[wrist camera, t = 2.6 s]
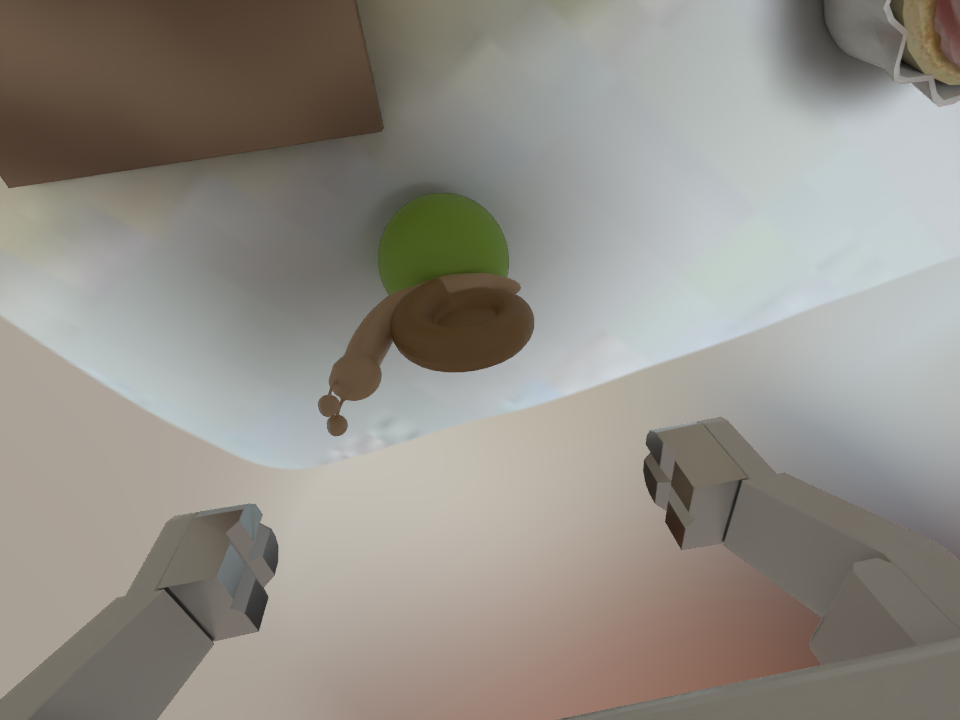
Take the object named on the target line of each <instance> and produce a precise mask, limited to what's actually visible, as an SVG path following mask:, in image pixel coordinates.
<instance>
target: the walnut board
mask: <svg viewBox="0 0 960 720" xmlns="http://www.w3.org/2000/svg"><path fill="white" fill-rule="evenodd" d="M383 128H384V127H383V123H382V118H381V114H380V109H379V104H378V100H377V95H376V91H375V86H374V81H373V77H372V72H371V67H370V63H369V58H368V54H367V49H366V44H365V40H364V35H363V30H362V26H361V21H360V17H359V12H358V7H357V3H356V0H0V176H1V177H2V179H3V180H4V182H5V183H6V185H7V186H8V188H13V187H20V186H26V185H33V184H40V183H46V182H53V181H59V180H66V179H73V178H79V177H86V176H92V175H99V174H105V173H112V172H119V171H125V170H132V169H138V168H145V167H152V166H158V165H165V164H171V163H178V162H185V161H191V160H198V159H204V158H211V157H217V156H224V155H231V154H237V153H244V152H250V151H257V150H264V149H270V148H277V147H283V146H290V145H297V144H303V143H310V142H316V141H323V140H329V139H336V138H343V137H349V136H356V135H362V134H369V133H376V132H382V130H383Z"/></svg>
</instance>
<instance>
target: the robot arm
mask: <svg viewBox="0 0 960 720" xmlns="http://www.w3.org/2000/svg"><path fill="white" fill-rule="evenodd" d="M646 446H647V447H648V449H649V450H650V454H649V455H648V456H647V457H646V458H645V459H644V468H643V472H644V478H645V482H646V486H647V488H648V491H649V494H650V495H651V497H652V499H653V501H654V503H655V504H657V505H658V506H660V507H662V508H663V509H665V510H666V511H667V512H666V519H665V522H666V524H667V526H668V527H669V529H670V531H671V533H672V534H673V536H674V538H675V540H676V542H677V543H678V545H679V547H680V548H681V550H685V549H690V548H697V547H703V546H709V545H714V544H721V543H724V546H725V547H726V548H728V549H729V550H730V551H732V552H733V553H735V554H736V555H737V556H738V557H740V558H741V559H743V560H744V561H745V562H747V563H748V564H750V565H751V566H752V567H754V568H755V569H756V570H758V571H759V572H760V573H762V574H763V575H764V576H766V577H767V578H769V579H770V580H771V581H773V582H774V583H775V584H777V585H778V586H780V587H781V588H782V589H784V590H785V591H786V592H788V593H789V594H790V595H792V596H793V597H794V598H796V599H797V600H799V601H800V602H801V603H803V604H804V605H805V606H807V607H808V608H809V609H811V610H812V611H813V612H815V613H816V614H818V615H819V616H820V617H822V620H821V621H820V623H819V625H818V627H817V628H816V630H815V632H814V634H813V636H812V637H811V641H810V645H809V647H810V648H811V650H812V651H813V652H814V654H815V655H816V657H817V659H818V660H819V661H820V663H821V664H822V665H820V666H815V667H811V668H806V669H801V670H796V671H791V672H786V673H781V674H777V675H772V676H767V677H762V678H757V679H752V680H747V681H742V682H737V683H733V684H728V685H723V686H718V687H713V688H708V689H704V690H698V691H694V692H689V693H684V694H679V695H674V696H669V697H664V698H660V699H655V700H650V701H645V702H640V703H635V704H630V705H625V706H620V707H616V708H611V709H606V710H601V711H596V712H591V713H586V714H581V715H577V716H572V717H567V718H562V719H557V720H960V561H959V560H958V559H957V558H956V557H955V556H953V555H952V554H951V553H950V552H949V551H948V550H946V548H944V547H943V546H942V545H941V544H940V543H937V542H935V541H933V540H931V539H929V538H926V537H924V536H922V535H920V534H918V533H915V532H913V531H911V530H909V529H906V528H905V527H902V526H900V525H898V524H896V523H894V522H891V521H889V520H887V519H885V518H882V517H880V516H878V515H876V514H874V513H872V512H869V511H867V510H865V509H863V508H861V507H859V506H856V505H854V504H852V503H850V502H848V501H845V500H843V499H841V498H839V497H837V496H834V495H832V494H830V493H828V492H826V491H823V490H821V489H819V488H817V487H815V486H813V485H810V484H808V483H806V482H804V481H802V480H799V479H797V478H795V477H793V476H790V475H788V474H786V473H780V474H777V473H776V472H775V471H774V470H773V469H772V468H771V467H770V466H769V465H768V464H767V463H766V461H764V459H763V458H762V457H761V456H760V455H759V454H758V453H757V452H756V451H755V450H754V449H753V447H751V445H750V444H749V443H748V442H747V441H746V440H745V439H744V438H743V437H742V436H741V434H740V433H739V432H738V431H737V430H736V429H735V428H734V427H733V426H732V425H731V424H730V423H729V421H728V420H726V419H724V418H722V417H718V418H713V419H707V420H702V421H697V422H691V423H686V424H681V425H676V426H671V427H666V428H660V429H655V430H650V431H649V433H648V435H647V438H646ZM261 518H262V513H261V511H260V510H259V508H258V507H257V506H256V504H244V505H238V506H231V507H225V508H219V509H213V510H206V511H200V512H196V513H190V514H183V515H177V516H174V517H173V518H171V519H170V520H169V521H168V522H166V524H165V526H164V528H163V529H162V531H161V533H160V535H159V537H158V538H157V540H156V542H155V544H154V546H153V547H152V549H151V551H150V553H149V554H148V556H147V558H146V560H145V562H144V563H143V565H142V567H141V569H140V571H139V572H138V574H137V576H136V578H135V580H134V581H133V583H132V585H131V587H130V589H129V590H128V592H127V594H126V596H123V597H119V598H116V599H115V600H114V601H113V602H111V603H110V604H109V605H108V606H107V607H106V608H105V609H103V610H102V611H101V612H100V613H99V614H98V615H97V616H95V617H94V618H93V619H92V620H91V621H90V622H89V623H87V624H86V625H85V626H84V627H83V628H82V629H81V630H79V632H77V633H76V634H75V635H74V636H73V637H71V638H70V639H69V640H68V641H67V642H66V643H64V644H63V645H62V646H61V647H60V648H59V649H58V650H56V651H55V652H54V653H53V654H52V655H51V656H50V657H48V658H47V659H46V660H45V661H44V662H43V663H42V664H40V665H39V666H38V667H37V668H36V669H35V670H34V671H32V672H31V673H30V674H29V675H28V676H27V677H25V678H24V679H23V680H22V681H21V682H20V683H19V684H17V685H16V686H15V687H14V688H13V689H12V690H11V691H9V692H8V693H7V694H6V695H5V696H4V697H3V698H1V699H0V720H157V719H158V718H159V716H160V715H161V714H162V712H163V711H164V710H165V708H166V707H167V706H168V704H169V703H170V702H171V700H172V699H173V698H174V696H175V695H176V694H177V692H178V691H179V690H180V688H181V687H182V686H183V685H184V683H185V682H186V681H187V679H188V678H189V677H190V675H191V674H192V673H193V671H194V670H195V669H196V667H197V666H198V665H199V663H200V662H201V661H202V659H203V658H204V657H205V655H206V654H207V653H208V652H209V650H210V649H211V648H212V646H213V645H214V643H213V641H217V640H222V639H227V638H231V637H236V636H240V635H245V634H249V633H254V632H258V631H259V629H260V625H261V622H262V618H263V615H264V611H265V607H266V604H267V601H268V595H267V593H266V591H265V589H264V587H265V585H266V584H267V583H268V582H269V581H270V580H271V579H272V578H273V576H274V575H275V572H276V568H277V564H278V543H277V540H276V536H275V534H274V533H273V531H272V529H271V528H269V527H267V526H265V525H263V524H261V523H260V521H261Z"/></svg>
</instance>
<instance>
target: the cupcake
mask: <svg viewBox="0 0 960 720" xmlns="http://www.w3.org/2000/svg"><path fill="white" fill-rule="evenodd" d="M823 2H824V17H825V23H826V25H827V28H828V30H829V32H830V34H831V36H832V38H833V40H834V41H835V42H836V44H837V45H838V46H839V48H840V49H841V50H842V51H843V52H844V53H845V54H846V55H849V56H851V57H854V58H856V59H859V60H862V61H865V62H867V63H870V64H873V65H876V66H878V67H880V68H883V69H885V70H886V72H887V73H888V74H889V76H890V77H891V78H892V80H893V81H894V82H898V83H901V84H905V83H912V84H913V85H914V86H915V87H916V88H918V89H919V90H920V91H921V92H922V93H923V94H924V95H926V96H927V97H928V98H929V99H930V100H931V101H932V102H934V103H935V104H936V105H937V106H938V107H941V106H946V105H950V104H954V103H956V102H957V101H959V100H960V0H823Z"/></svg>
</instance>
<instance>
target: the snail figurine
mask: <svg viewBox="0 0 960 720" xmlns="http://www.w3.org/2000/svg"><path fill="white" fill-rule="evenodd" d="M378 265H379V272H380V276H381V280H382V282H383V285H384V287H385V289H386V291H387V293H388V295H389V296H388V297H386V298H385V299H384V300H383V301H381V302H380V303H379V304H378V305H377V306H376V307H375V308H374V309H373V310H372V311H371V312H370V313H369V314H368V315H367V316H366V318H365V319H364V320H363V321H362V323H361V324H360V326H359V327H358V329H357V330H356V332H355V333H354V335H353V337H352V338H351V340H350V342H349V345H348V347H347V350H346V353H345V355H344V356H343V357H342V358H340V359H339V360H338V361H337V362H336V363H335V364H334V365H333V368H332V371H331V375H330V378H329V385H330V390H329V393H328V395H325V396H323V397H321V398H320V399H319V402H318V407H319V411H320V413H321V414H322V415H323V416H326V417H330V416H331V417H330V418H329V419H328V420H327V429H328V431H329V433H330V434H331V435H333V436H340V435H342V434H343V433H344V432H345V431H346V430H347V426H348V424H347V420H346V419H345V418H344V417H343V416H341V415H339V412H340V409H341V406H342V404H343V402H344V401H345V400H350V401H357V400H362V399H364V398H367V397H368V396H370V395H371V394H372V393H374V392H375V390H376V389H377V388H378V386H379V384H380V382H381V369H380V364H381V362H382V360H383V359H384V357H385V355H386V353H387V352H388V350H389V348H390V346H391V344H392V342H393V341H394V343H395V345H396V347H397V348H398V350H399V351H400V353H401V354H403V355H404V356H405V357H406V358H407V359H408V360H410V361H411V362H413V363H415V364H417V365H419V366H421V367H424V368H427V369H430V370H434V371H442V372H467V371H475V370H480V369H484V368H488V367H491V366H494V365H496V364H499V363H502V362H504V361H505V360H507V359H509V358H511V357H513V356H514V355H515V354H517V353H518V352H519V351H520V350H521V349H522V348H523V347H524V346H525V345H526V344H527V342H528V341H529V339H530V337H531V335H532V333H533V329H534V316H533V313H532V310H531V308H530V306H529V305H528V304H527V303H526V302H525V301H524V300H523V299H522V298H521V297H519V296H518V295H516V293H518V292H519V291H520V289H521V287H520V285H519V283H517V282H516V281H514V280H512V279H509V278H507V274H508V267H509V254H508V248H507V243H506V240H505V237H504V234H503V232H502V230H501V228H500V226H499V225H498V223H497V222H496V220H495V219H494V218H493V216H492V215H491V214H490V213H489V212H488V211H487V210H486V209H485V208H483V207H482V206H481V205H479V204H478V203H476V202H474V201H473V200H471V199H469V198H466V197H463V196H460V195H456V194H451V193H434V194H428V195H424V196H421V197H419V198H416V199H414V200H412V201H410V202H409V203H407V204H406V205H404V206H403V207H402V208H401V209H400V210H399V211H397V212H396V214H395V215H394V216H393V217H392V218H391V220H390V221H389V223H388V224H387V226H386V228H385V230H384V232H383V235H382V237H381V241H380V245H379V252H378ZM332 391H333V392H334V393H335V394H336V395H337V396H339V397H340V398H341V401H340V403H339V401H338V399H337V398H336V397H335V396H332V395H331V393H332ZM335 414H336V415H335Z"/></svg>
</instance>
